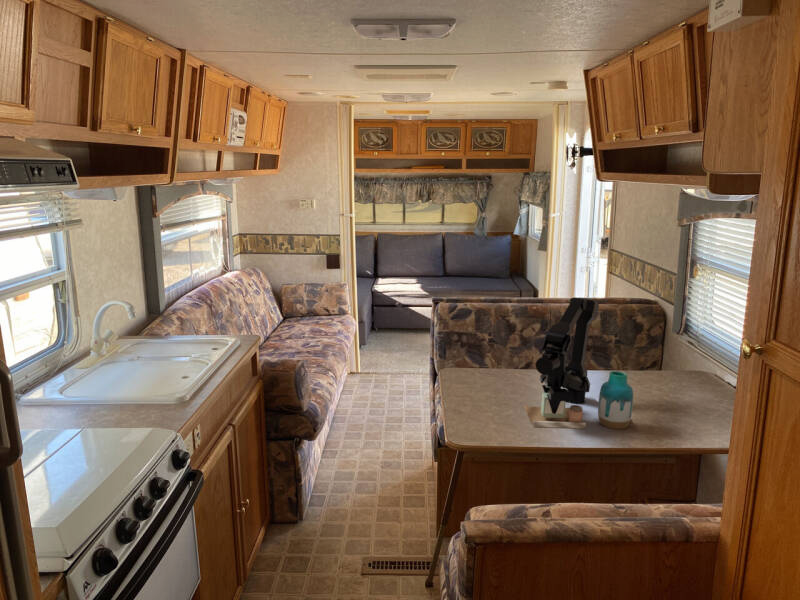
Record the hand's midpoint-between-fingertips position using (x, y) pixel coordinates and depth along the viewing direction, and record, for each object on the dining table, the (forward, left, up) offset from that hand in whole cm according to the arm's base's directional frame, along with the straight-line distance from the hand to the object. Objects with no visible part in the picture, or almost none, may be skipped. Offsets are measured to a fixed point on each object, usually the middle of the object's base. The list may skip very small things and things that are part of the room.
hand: (552, 410), depth 195 cm
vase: (-20, +2, -5) cm, 21 cm away
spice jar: (-7, +3, -3) cm, 8 cm away
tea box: (0, 0, -2) cm, 2 cm away
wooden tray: (-1, -2, -5) cm, 5 cm away
